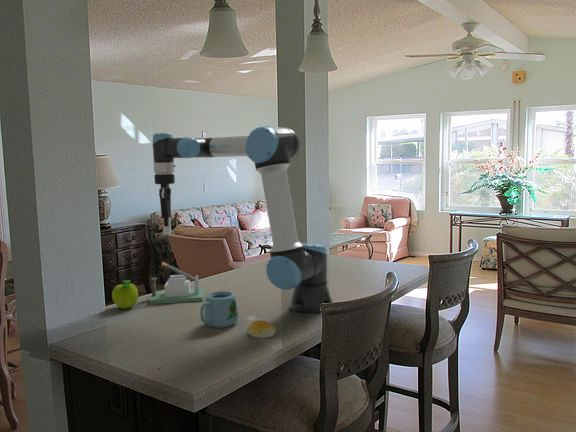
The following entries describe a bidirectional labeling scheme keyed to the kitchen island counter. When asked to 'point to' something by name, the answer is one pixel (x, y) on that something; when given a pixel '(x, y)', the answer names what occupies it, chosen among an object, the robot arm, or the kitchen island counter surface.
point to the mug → (220, 310)
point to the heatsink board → (177, 299)
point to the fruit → (125, 295)
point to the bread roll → (261, 329)
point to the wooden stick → (178, 271)
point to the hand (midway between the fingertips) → (167, 234)
